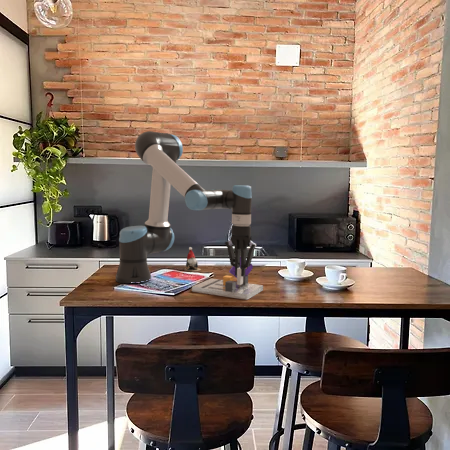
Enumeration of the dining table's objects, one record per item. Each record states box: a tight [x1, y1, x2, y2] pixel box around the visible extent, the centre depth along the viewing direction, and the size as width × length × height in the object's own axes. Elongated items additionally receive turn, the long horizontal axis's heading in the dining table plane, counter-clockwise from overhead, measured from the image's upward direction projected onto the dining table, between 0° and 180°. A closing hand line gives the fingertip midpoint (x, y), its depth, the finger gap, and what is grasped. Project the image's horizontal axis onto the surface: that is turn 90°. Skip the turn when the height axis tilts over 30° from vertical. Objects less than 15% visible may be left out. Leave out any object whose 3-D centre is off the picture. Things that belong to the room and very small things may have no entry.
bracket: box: [228, 256, 253, 279], centre depth 184 cm, size 12×7×7 cm
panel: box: [191, 274, 264, 301], centre depth 172 cm, size 24×16×6 cm, turn 63°
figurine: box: [184, 246, 202, 272], centre depth 211 cm, size 8×10×12 cm
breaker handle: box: [222, 274, 234, 286], centre depth 172 cm, size 3×3×4 cm
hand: (239, 284), depth 169 cm, fingers closed
